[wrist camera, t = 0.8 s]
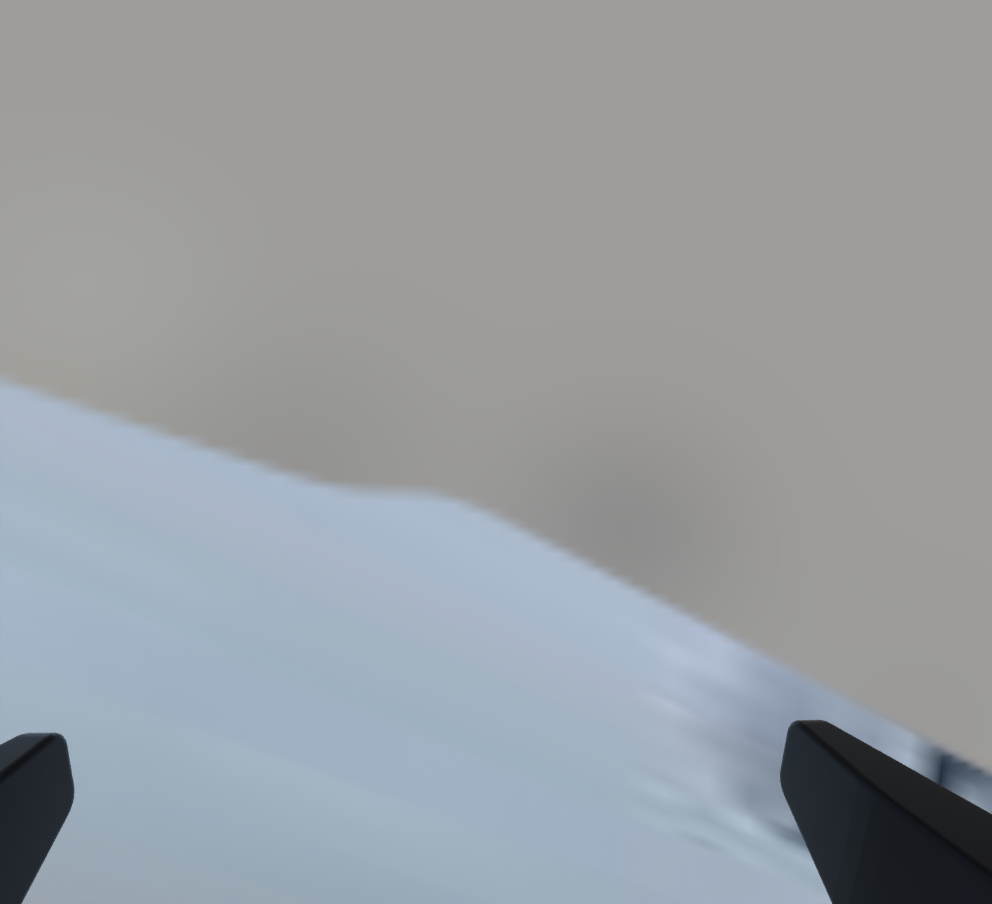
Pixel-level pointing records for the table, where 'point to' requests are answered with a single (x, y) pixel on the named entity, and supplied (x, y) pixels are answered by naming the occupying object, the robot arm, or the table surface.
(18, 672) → the table surface
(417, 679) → the table surface
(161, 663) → the table surface
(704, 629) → the table surface
